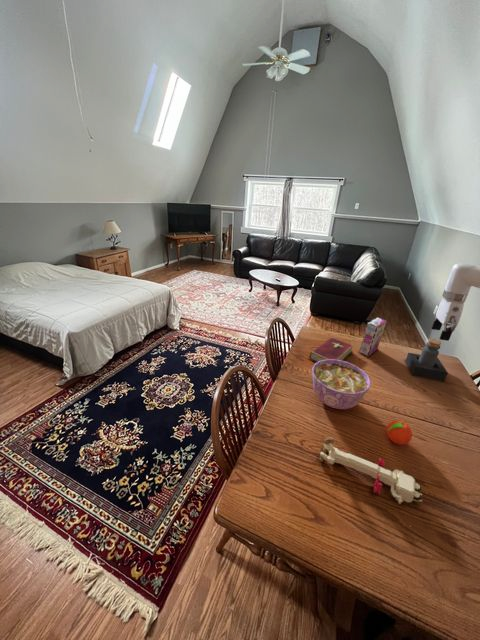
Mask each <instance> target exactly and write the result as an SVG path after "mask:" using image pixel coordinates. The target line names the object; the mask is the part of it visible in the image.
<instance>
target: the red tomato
mask: <svg viewBox="0 0 480 640" xmlns="http://www.w3.org/2000/svg"><path fill="white" fill-rule="evenodd" d="M385 430H386V436H387V437H388V439H389V440H390V441H391V442H393V443H395V444H396V445H400V446H401V445H408V443H410V442H411V441H412V438H413V431H412V429H411V426H409V425H408V424H407V423H406V422H405V421H403V420H391V421H390V422H388V424H387V425H386V429H385Z"/></svg>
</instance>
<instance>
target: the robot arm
mask: <svg viewBox="0 0 480 640" xmlns="http://www.w3.org/2000/svg"><path fill="white" fill-rule="evenodd" d="M472 287H474V288H477V289H480V267H479V268H478V267H477V266H476V265H475V264H469V263H455V264H453V266H452V268H451V271H450V273H449V275H448V279H447V282H446V284H445V287H444V289H443V293H442V295H441V298H442V299H441V301H440V303H439V305H438V308H437V309H436V313H435V317H434V319H433V323H432V325H431V330H433V331H434V330H435V331H440V330H441V329H442V326H443V329H442V330H441V333H440V336H439V339H438V340H439V341H447V342H448V341H450V339H451V336H452V334H453V333H454V331H455V330H456V328H457V326H458V325H459V322H460V319H461V317H462V313H463V309H464V305H465V302H466V300H467V298H468V296H469V293H470V290H471V288H472Z"/></svg>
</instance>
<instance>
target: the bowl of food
mask: <svg viewBox="0 0 480 640" xmlns="http://www.w3.org/2000/svg"><path fill="white" fill-rule="evenodd" d="M311 376H312V387H313V392H314V393H315V395H316V397H317V398H318V400H319V401H320V402H321V403H323V404H324V405H326V406H328V407H330V408H332V409H336V410H348V409H352V408H354V407H356V406H357V405H358V404H359V403H360V402H361V401H362V399H363V398H364V396H365V395H366V394H367V393H368V391H369V390H370V387H371V385H372V382H371V378H370V376H369V374H367V372H366V371H364V369H361V368H360V367H358V366H357V365H355V364H353V363H351V362H348V361H345V360H343V361H341V360H335V359H326V360H321V361H319V362H315V363H314V365H312V369H311Z"/></svg>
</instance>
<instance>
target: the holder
mask: <svg viewBox="0 0 480 640" xmlns="http://www.w3.org/2000/svg"><path fill="white" fill-rule="evenodd" d="M420 355H421V354H418V353H413V352H408V353H407V355H406V357H405V363H406V365H407V367H408V369H409V371H410V374H411V376H415V377H419V378H424V379H430V380H435V381H439V382H440V381H441V382H445V380H446V378H447V376H448V373H449V372H448V371H447V369H446V367H445V366H444V364H443V363H442V361H441V360H440V359H439V357H437V359H436V361H435V363H434V366H433V367H430V366H424V365H420V363H419V361H418V360H419V357H420Z"/></svg>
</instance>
